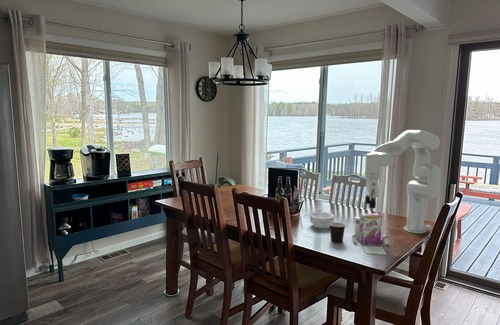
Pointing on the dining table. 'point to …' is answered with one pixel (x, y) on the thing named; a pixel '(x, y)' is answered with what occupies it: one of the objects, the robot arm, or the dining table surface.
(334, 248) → the dining table surface
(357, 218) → the dispenser
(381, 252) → the pad
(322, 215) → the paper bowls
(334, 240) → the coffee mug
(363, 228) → the candy bar box
